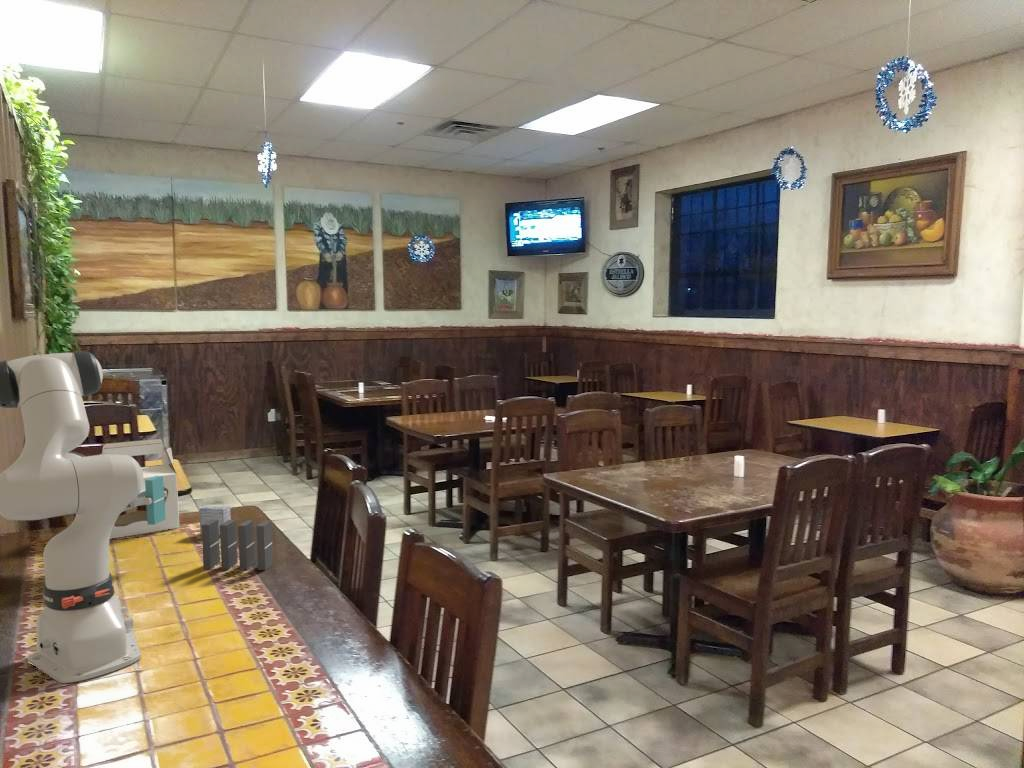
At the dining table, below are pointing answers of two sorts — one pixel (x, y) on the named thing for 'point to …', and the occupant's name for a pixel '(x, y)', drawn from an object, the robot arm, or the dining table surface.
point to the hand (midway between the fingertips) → (158, 497)
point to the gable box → (138, 519)
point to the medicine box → (214, 514)
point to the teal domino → (155, 500)
